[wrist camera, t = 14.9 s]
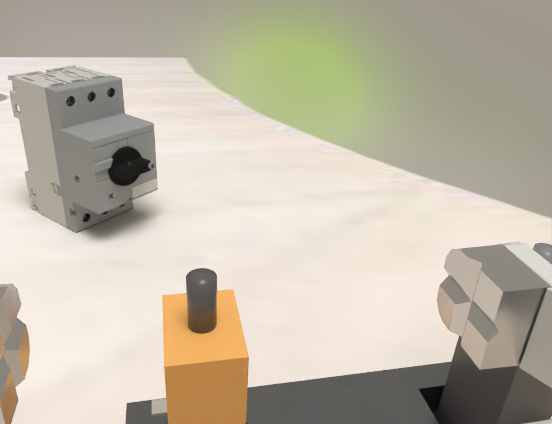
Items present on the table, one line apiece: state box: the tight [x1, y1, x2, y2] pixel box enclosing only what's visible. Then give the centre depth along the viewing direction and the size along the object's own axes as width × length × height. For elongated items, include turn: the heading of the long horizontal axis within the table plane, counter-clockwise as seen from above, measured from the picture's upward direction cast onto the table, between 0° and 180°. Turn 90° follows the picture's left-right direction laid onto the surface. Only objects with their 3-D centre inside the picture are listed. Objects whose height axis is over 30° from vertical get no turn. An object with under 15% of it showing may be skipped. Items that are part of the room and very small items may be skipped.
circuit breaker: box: [8, 66, 158, 233], centre depth 53 cm, size 8×14×15 cm, turn 55°
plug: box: [162, 268, 249, 424], centre depth 23 cm, size 3×4×14 cm
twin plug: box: [436, 243, 552, 424], centre depth 27 cm, size 3×4×14 cm
